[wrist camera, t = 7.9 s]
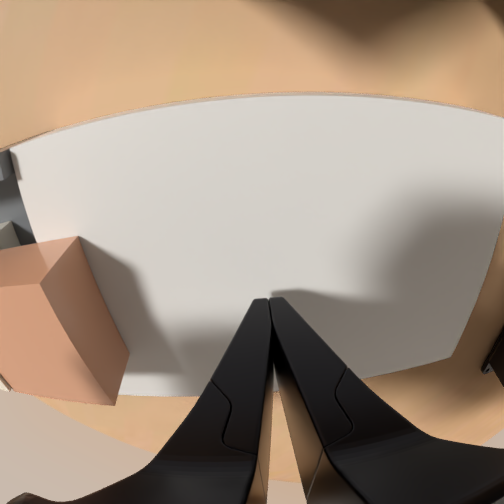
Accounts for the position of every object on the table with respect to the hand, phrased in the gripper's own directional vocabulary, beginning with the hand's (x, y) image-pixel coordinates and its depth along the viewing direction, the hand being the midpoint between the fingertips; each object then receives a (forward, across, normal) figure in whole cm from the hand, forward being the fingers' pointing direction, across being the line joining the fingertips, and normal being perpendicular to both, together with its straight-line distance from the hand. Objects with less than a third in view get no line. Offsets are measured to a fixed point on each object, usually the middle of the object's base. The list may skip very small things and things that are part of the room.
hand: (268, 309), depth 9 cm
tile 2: (+1, +8, 0) cm, 8 cm away
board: (+4, -1, 0) cm, 4 cm away
